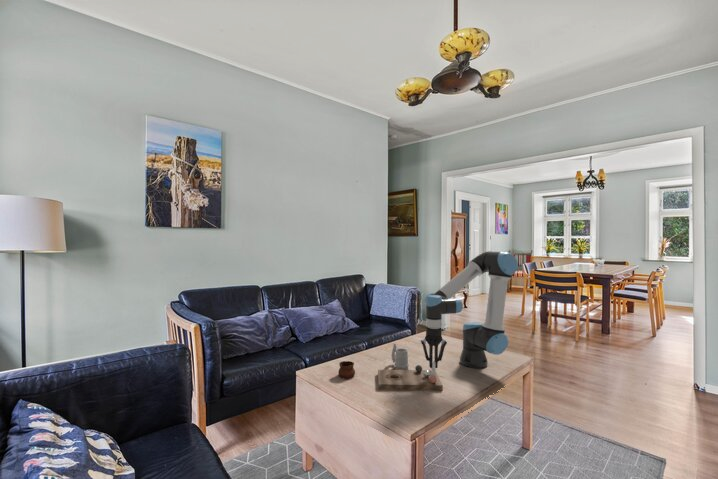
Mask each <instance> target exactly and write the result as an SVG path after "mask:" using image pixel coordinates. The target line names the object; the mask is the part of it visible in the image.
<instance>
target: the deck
mask: <svg viewBox="0 0 718 479" xmlns="http://www.w3.org/2000/svg"><path fill="white" fill-rule="evenodd" d="M427 370H428V369H427ZM424 371H425V370H423V369H422V371H421V372H417V371H416V369H407V370H398V369H377V380H378V391H379V390H382V391H385V390H386V391H388V390H389V391H394V390H395V391H440V392H441V391H443V389H444V388H443V387H444V386H443V382H442V381H441V379H440V377H439V375H438V373H437V371H436V370H435V376H436V378H437V381H436V383H431V382H430V380H429V378H430V376H432V374H431V370H430V369H429V370H428V371H429V372H430V376H429V377H428V378H426V377H424V375H423V372H424Z"/></svg>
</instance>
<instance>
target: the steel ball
mask: <svg viewBox="0 0 718 479" xmlns="http://www.w3.org/2000/svg"><path fill="white" fill-rule="evenodd" d="M423 375H424V377H426V378H428V377H429V376H430V372H429V371H428V369H426V370H425V371H424V372H423Z"/></svg>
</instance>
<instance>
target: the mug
mask: <svg viewBox="0 0 718 479" xmlns="http://www.w3.org/2000/svg"><path fill="white" fill-rule="evenodd" d="M408 353H409V352H408V349H406V348H397V344H396V343H393V346H392V351H391V361H392V363H394V368H395V370H409V355H408Z"/></svg>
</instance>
